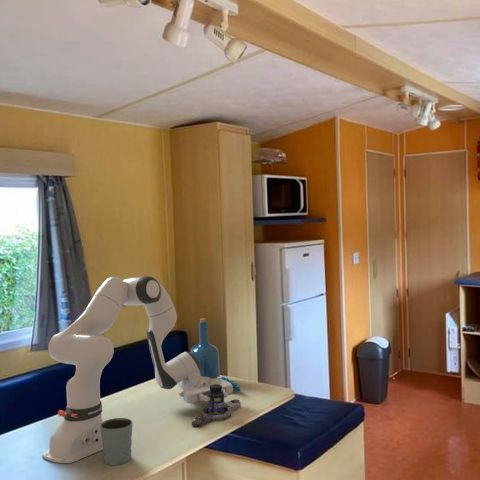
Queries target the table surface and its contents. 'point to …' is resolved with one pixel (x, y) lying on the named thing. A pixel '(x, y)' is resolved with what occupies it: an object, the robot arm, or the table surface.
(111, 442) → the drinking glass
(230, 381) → the blue jointed connector toy
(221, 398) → the pill bottle
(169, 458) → the table surface
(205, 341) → the wine bottle
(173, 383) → the robot arm
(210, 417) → the octagon ring handle
